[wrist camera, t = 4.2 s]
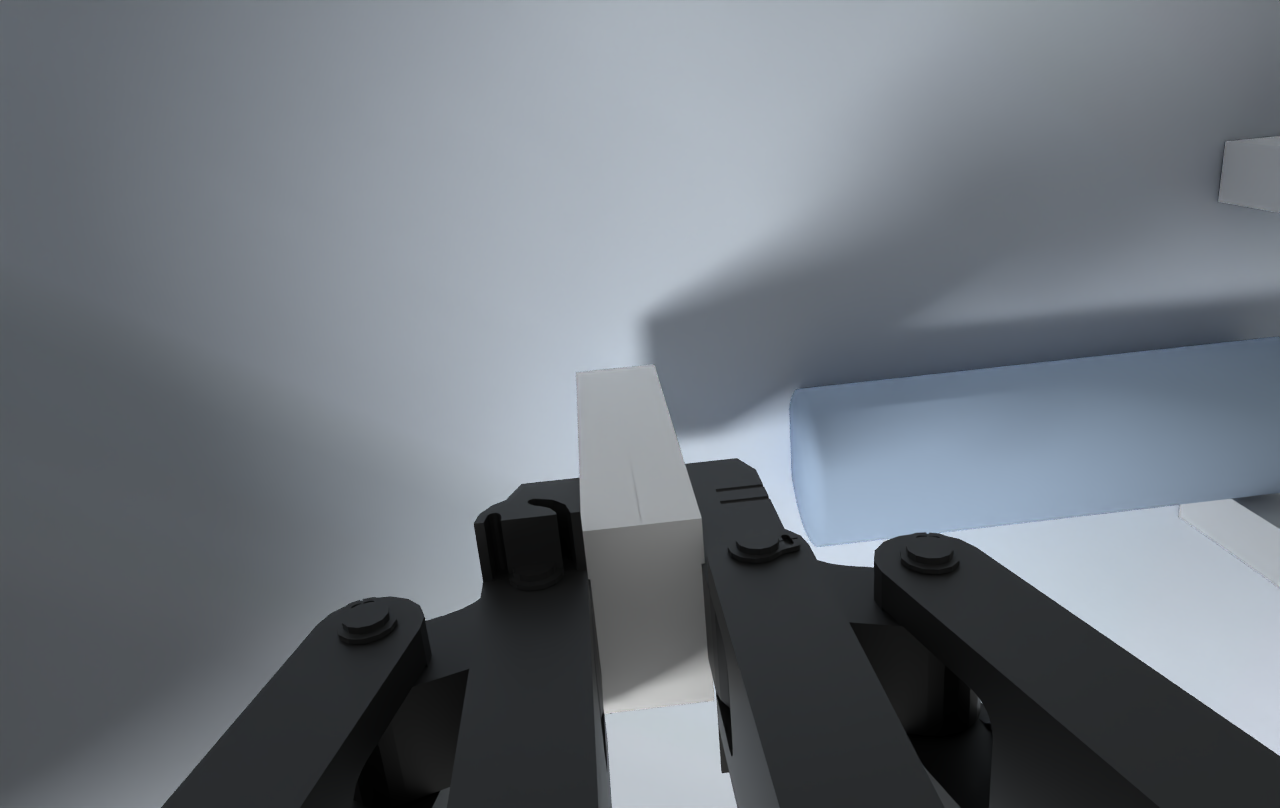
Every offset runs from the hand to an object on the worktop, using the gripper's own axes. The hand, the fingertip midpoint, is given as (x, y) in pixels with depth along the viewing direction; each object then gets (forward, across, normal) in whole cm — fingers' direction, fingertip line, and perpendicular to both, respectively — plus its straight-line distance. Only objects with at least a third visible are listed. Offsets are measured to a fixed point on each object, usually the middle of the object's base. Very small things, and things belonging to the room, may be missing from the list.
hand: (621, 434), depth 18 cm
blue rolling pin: (+1, +9, 0) cm, 9 cm away
